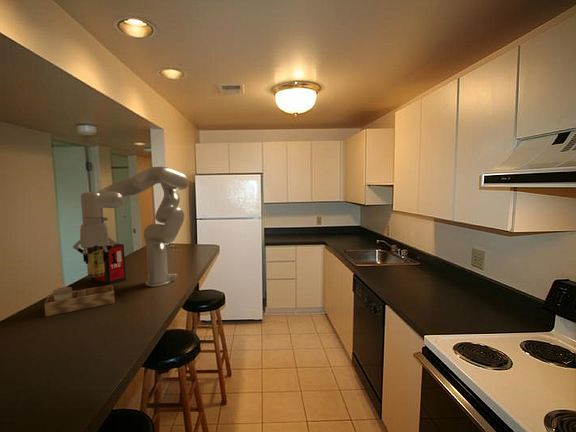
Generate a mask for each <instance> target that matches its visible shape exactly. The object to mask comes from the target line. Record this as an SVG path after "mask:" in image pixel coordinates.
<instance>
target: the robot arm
mask: <svg viewBox="0 0 576 432" xmlns="http://www.w3.org/2000/svg"><path fill="white" fill-rule="evenodd" d="M189 180H190V179H189V178H188V177H187V175H186V174H184V173H181V172H179V171H178V170H174V169H172V168H170V167H167V166H151V167H148V168H146V169H144V170H142V171H140V172H138V173H137V174H134V175H133V176H131V177H129V178H125V179H123V180H120V181H118V182H115V183H112V184H110V185H108V186H106V187H104V188H101V189H100V190H98V191H97V192H96V191H85V192H82V193H81V195H80V201H81V216H82V217H81V219H82V223H81V225H80V229H79V240H78V241H77V242H76V243H75V244H74V245H72V249H74V250H76V251H78V252H79V253H80V254H81V255H82V256H83V257H82V258H83V262H85V265H87V263H88V258H87V249H88V248H90V247H94V246H95V245H96V246H100V247H103V249H104V261H106V259H108V251H109V250H110V249H111V248H112V247H113V246H114V245H115V244H116V241H115V240H113V239H111V238H110V237H109V233H108V232H109V231H108V228H107V227H108V226H107V223H106V221H108V217H105V216H104V210H103V209H117V208H119V207H121V206H122V205H123V204H124V201H125V198H124V197H128V196H135V195H138V194H141V193H143V192H144V191H146V190H149V189H150V188H152V187H153V186H155V185H157V184H160V185H161V189H162V190H163V197H162V200H161V202H160V204H159V207H158V208H157V210H156V212H155V215H154V216H155V217H154V219H155V220H156V221H157V222H158V223H151V224H148V225H147V226H146V227H145V228H144V230H143V238H144V242H145V246H146V247H145V248H146V260H147V276H148V280H147V279H146V281H145V282H144V283H145V285H146V286H148V287H162V286H165V285H168V284H170V283H172V278H177V277H178V273H169V271H168V256H167V254H168V253H167V252H168V251H167V245H166V244H171V243H173V242H174V241H175V240H176V238H177V236H178V235H179V232H180V230H181V228H182V226H183V223H184V221H185V212H184V209H183V208H181V207H179V204H180V199H181V197H180V194H179V191H180V190H181V191H182V190H185V189H187V188H188V187H189V185H190V181H189ZM178 190H179V191H178ZM108 242H110V243H111V244H110V245H109V246H108V247H106V246H107V245H108ZM79 246H80V247H79Z"/></svg>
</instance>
